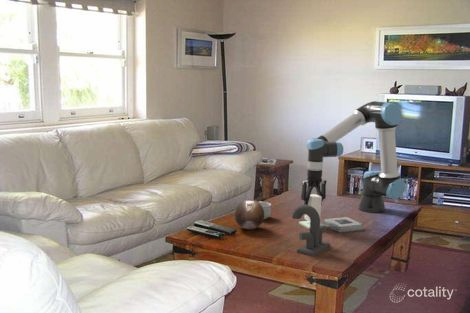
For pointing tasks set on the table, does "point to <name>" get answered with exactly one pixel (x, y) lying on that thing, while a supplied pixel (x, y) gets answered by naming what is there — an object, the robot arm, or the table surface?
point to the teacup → (266, 208)
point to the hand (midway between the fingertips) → (312, 212)
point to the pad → (307, 224)
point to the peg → (314, 204)
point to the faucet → (311, 231)
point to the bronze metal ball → (249, 214)
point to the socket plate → (343, 224)
